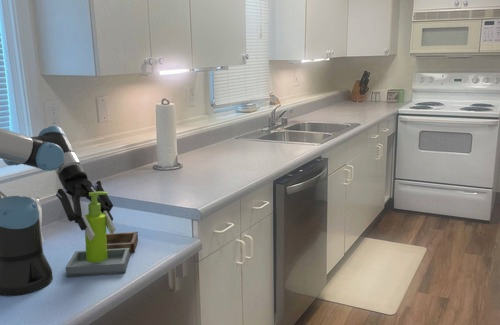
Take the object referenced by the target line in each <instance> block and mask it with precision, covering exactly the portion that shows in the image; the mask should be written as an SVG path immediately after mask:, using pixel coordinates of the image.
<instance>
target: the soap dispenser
mask: <svg viewBox="0 0 500 325" xmlns="http://www.w3.org/2000/svg"><path fill="white" fill-rule="evenodd" d="M104 191H105V190H104ZM104 191H94V192H89V196H91V201H90V202H89V203H87V204H88V205H87V206H88V208H87V209H88V213H87V214H85V215H84V216H85V217H86V218H87V220H88V222H89V224H90V226H91V228H92V230H93V232H94V234H95V236H94V238H93V239H92V240H89V238H88V237H87V235H86V233H85V232H84V236H85V237H84V239H85V240H84V241H85V251H86V260H87V261H88V262H102V261H104V260H106V259H107V244H108V243H107V237H106V234H107V226H106V215H105V214H103V213H101V204H100V203H99V202H97V196H98V195H107V196H108V195H109V192H108V191H105V192H104Z"/></svg>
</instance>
